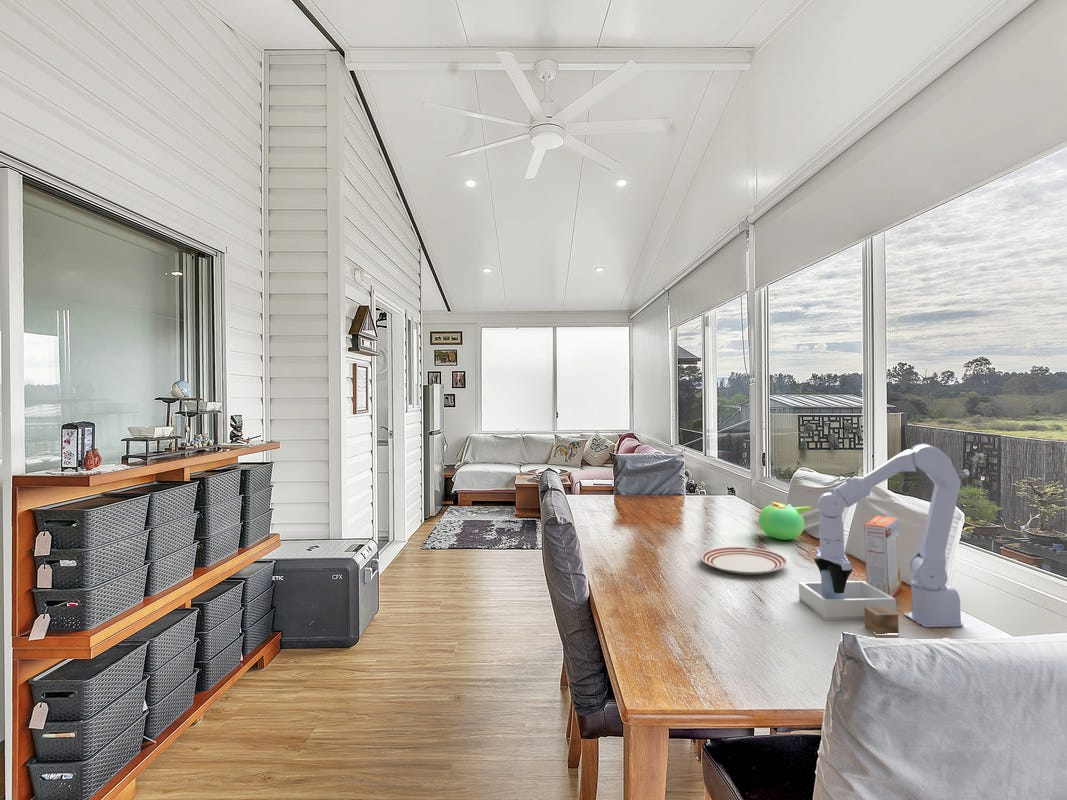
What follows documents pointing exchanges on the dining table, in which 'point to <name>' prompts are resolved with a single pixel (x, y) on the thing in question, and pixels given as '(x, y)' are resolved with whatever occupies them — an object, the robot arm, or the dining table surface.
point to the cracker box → (883, 554)
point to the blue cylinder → (828, 586)
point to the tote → (845, 600)
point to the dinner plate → (744, 560)
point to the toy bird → (782, 520)
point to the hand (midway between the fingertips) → (833, 589)
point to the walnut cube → (881, 620)
